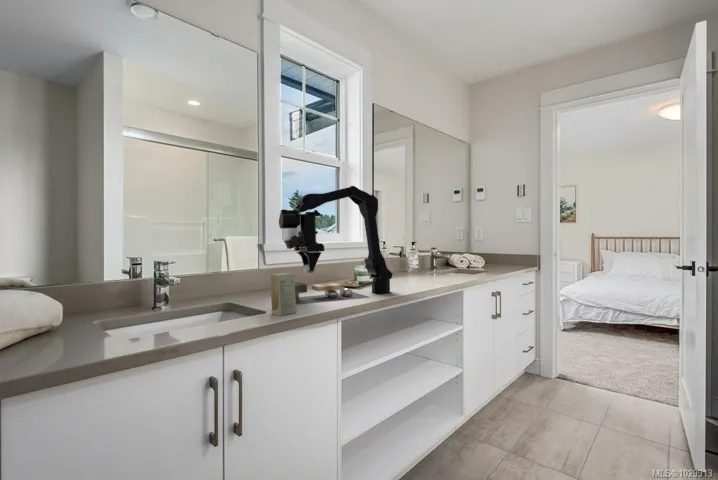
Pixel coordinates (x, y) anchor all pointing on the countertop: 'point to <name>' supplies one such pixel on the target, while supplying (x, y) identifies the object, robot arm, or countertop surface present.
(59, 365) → the countertop surface
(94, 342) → the countertop surface
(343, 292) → the cylinder
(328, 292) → the cylinder
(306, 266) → the loose steel roller
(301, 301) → the rubber mat
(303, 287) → the walnut stop
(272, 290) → the skincare box
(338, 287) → the oak slab
